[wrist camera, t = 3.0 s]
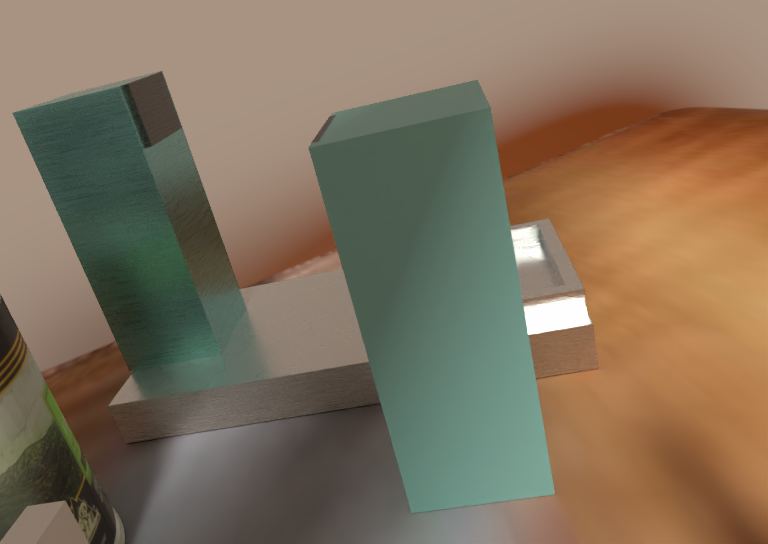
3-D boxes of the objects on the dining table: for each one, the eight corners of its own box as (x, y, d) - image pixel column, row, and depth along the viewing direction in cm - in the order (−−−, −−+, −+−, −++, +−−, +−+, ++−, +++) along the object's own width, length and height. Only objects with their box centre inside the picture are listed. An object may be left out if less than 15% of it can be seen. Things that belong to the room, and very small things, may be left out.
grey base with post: (553, 264, 35) (512, -19, 29) (598, 368, 25) (551, -17, 20) (195, 330, 38) (97, 84, 32) (121, 444, 28) (-33, 127, 23)
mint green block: (533, 406, 24) (477, 79, 20) (554, 494, 20) (490, 107, 16) (413, 425, 25) (332, 113, 20) (411, 513, 21) (307, 147, 16)
